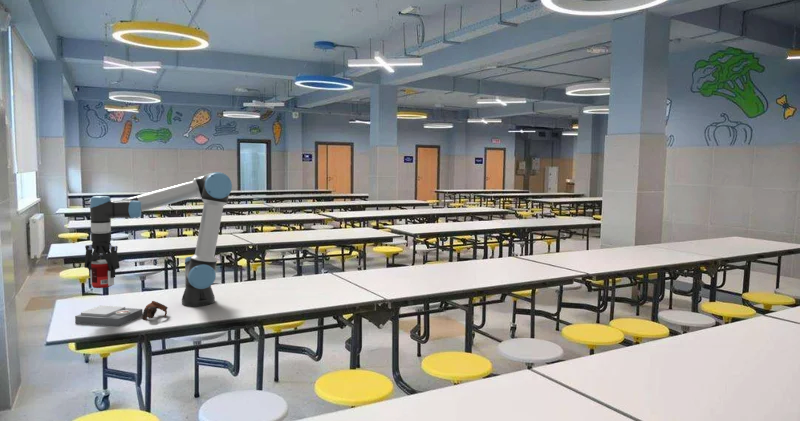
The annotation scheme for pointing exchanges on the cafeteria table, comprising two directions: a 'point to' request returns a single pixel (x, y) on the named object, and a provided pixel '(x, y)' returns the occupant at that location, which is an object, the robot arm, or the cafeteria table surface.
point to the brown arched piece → (153, 310)
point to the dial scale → (108, 315)
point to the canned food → (99, 274)
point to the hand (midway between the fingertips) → (102, 284)
